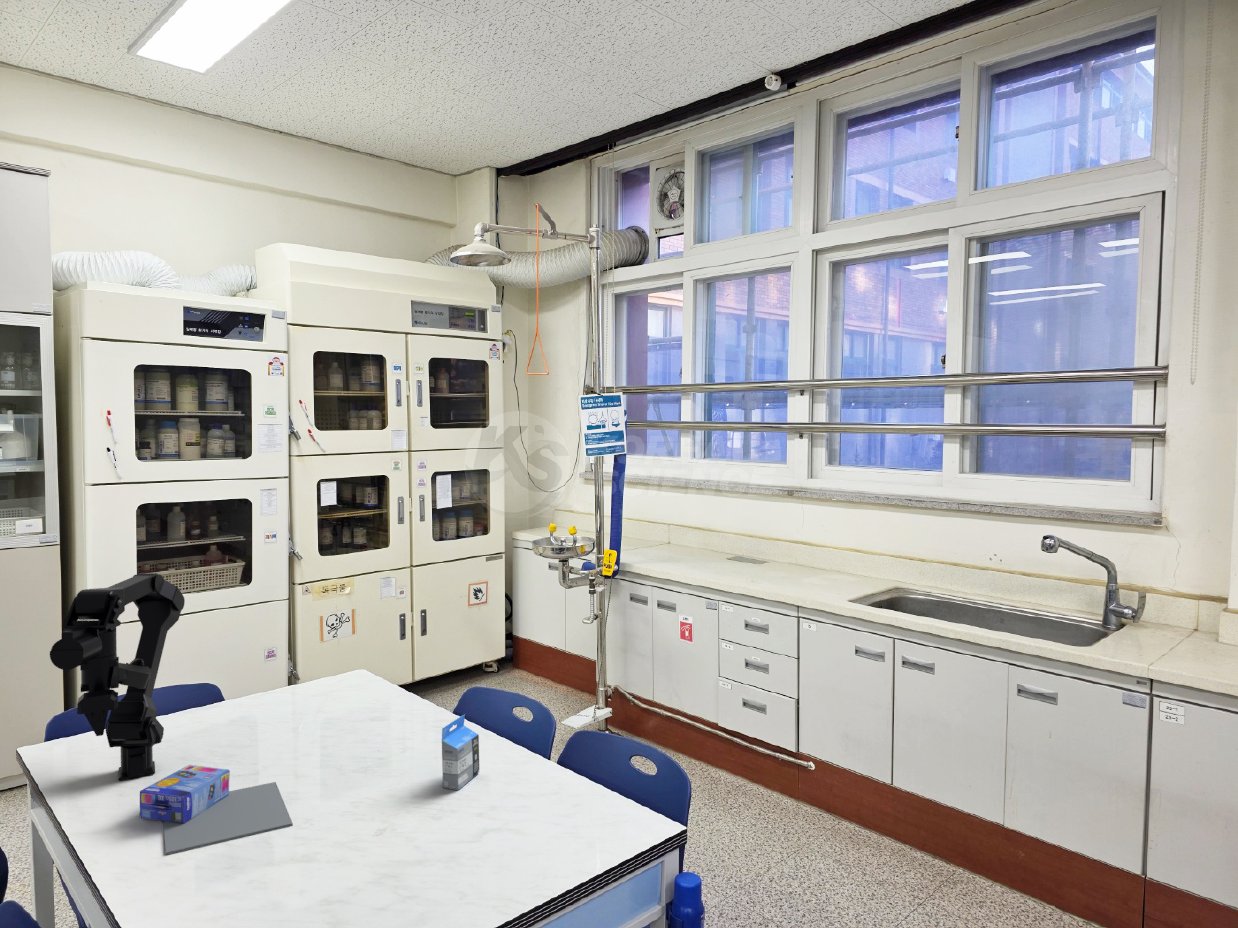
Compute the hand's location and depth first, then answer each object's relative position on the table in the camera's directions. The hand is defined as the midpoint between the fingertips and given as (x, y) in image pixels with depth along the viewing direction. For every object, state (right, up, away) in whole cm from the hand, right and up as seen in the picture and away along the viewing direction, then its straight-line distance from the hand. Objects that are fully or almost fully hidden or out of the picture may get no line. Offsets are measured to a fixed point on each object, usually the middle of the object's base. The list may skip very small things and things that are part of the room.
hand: (99, 735), depth 151 cm
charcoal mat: (+27, -13, -5) cm, 30 cm away
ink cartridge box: (+19, -10, +4) cm, 22 cm away
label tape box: (+67, -14, +11) cm, 69 cm away
